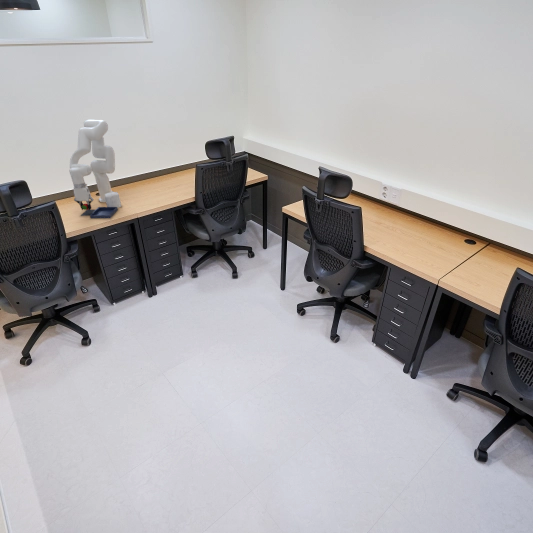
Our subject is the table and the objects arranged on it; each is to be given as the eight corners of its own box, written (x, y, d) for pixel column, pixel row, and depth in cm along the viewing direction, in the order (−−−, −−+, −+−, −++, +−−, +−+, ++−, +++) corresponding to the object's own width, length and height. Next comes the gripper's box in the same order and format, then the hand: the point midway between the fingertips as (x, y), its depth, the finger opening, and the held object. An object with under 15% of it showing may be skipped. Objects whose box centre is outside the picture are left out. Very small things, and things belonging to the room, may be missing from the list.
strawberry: (86, 206, 265) (84, 201, 263) (92, 206, 265) (90, 201, 263) (81, 211, 258) (80, 205, 256) (87, 211, 258) (85, 205, 256)
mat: (87, 210, 268) (87, 209, 268) (96, 210, 268) (96, 209, 268) (80, 216, 259) (80, 215, 259) (90, 216, 259) (89, 215, 259)
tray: (99, 210, 268) (98, 206, 267) (118, 210, 268) (117, 207, 267) (90, 218, 256) (89, 215, 254) (110, 218, 255) (109, 215, 254)
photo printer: (120, 205, 276) (117, 190, 269) (122, 207, 273) (118, 192, 266) (107, 208, 271) (103, 193, 264) (108, 210, 268) (104, 194, 261)
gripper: (93, 183, 254) (99, 207, 264) (70, 183, 254) (77, 207, 264) (89, 187, 248) (95, 211, 258) (65, 187, 248) (72, 211, 258)
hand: (86, 208), depth 261 cm, fingers closed on strawberry, 4 cm apart
